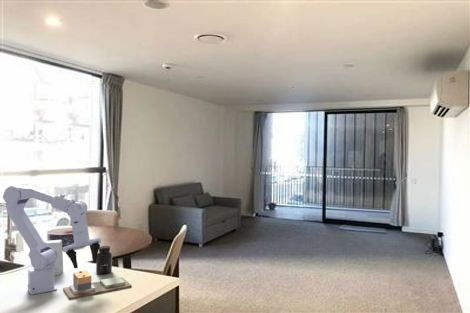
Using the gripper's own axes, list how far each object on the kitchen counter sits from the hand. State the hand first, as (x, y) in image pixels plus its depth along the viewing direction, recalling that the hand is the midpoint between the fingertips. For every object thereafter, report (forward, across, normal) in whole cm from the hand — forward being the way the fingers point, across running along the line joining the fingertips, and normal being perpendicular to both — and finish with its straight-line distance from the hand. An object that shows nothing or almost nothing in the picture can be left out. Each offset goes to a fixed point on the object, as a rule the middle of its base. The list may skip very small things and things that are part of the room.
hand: (85, 265), depth 152 cm
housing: (+8, -2, +1) cm, 8 cm away
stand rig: (+11, +4, 0) cm, 11 cm away
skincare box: (+7, -4, +32) cm, 33 cm away
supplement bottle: (+10, +14, +18) cm, 25 cm away
